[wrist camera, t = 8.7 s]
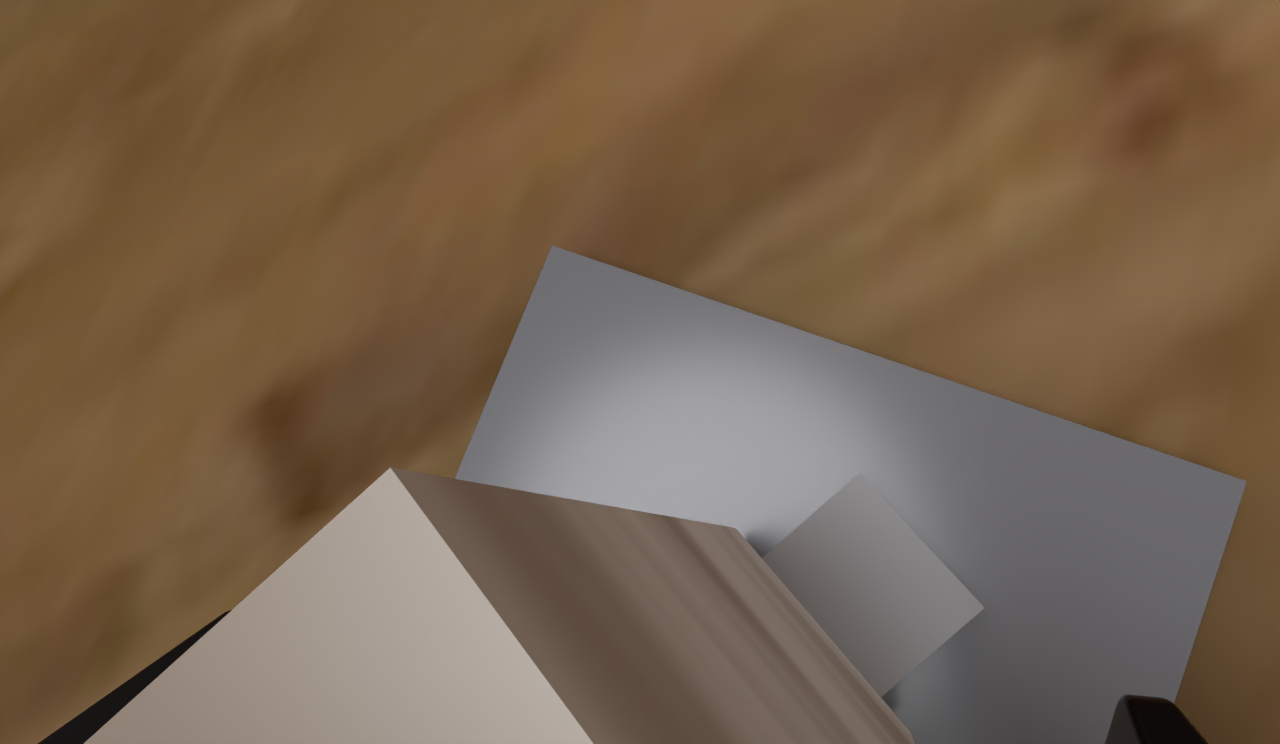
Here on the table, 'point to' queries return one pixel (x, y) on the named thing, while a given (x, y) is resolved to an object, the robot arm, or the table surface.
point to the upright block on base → (562, 628)
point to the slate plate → (895, 467)
